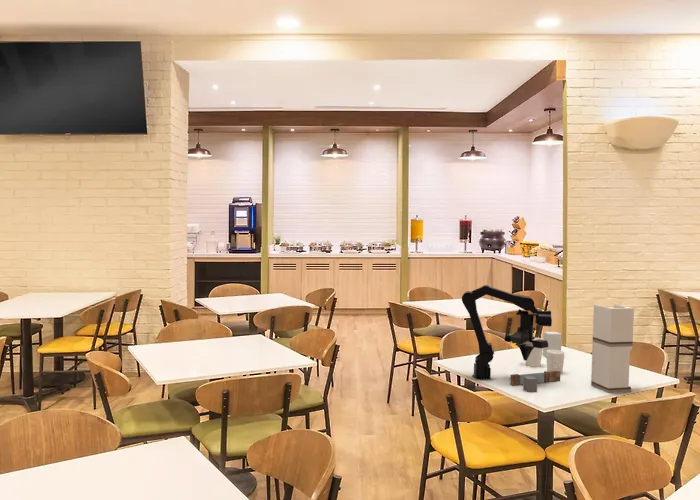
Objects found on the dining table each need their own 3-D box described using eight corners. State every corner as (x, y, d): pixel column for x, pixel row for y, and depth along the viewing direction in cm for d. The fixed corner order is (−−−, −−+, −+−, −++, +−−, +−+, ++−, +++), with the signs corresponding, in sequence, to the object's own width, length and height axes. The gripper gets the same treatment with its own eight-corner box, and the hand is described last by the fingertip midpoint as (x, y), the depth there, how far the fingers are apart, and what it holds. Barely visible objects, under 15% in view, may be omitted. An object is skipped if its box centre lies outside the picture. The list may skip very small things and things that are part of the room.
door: (542, 381, 251) (542, 372, 251) (545, 382, 249) (546, 373, 249) (518, 383, 247) (518, 374, 247) (521, 385, 245) (522, 376, 245)
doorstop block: (527, 392, 235) (527, 379, 235) (523, 389, 239) (523, 376, 239) (536, 392, 236) (537, 378, 236) (532, 389, 240) (532, 376, 240)
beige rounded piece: (565, 375, 263) (565, 353, 263) (547, 374, 265) (547, 352, 264) (562, 371, 271) (562, 350, 270) (544, 370, 272) (545, 349, 272)
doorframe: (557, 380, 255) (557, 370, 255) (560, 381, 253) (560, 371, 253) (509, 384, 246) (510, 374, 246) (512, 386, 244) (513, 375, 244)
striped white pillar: (630, 392, 238) (634, 308, 237) (608, 393, 236) (611, 308, 234) (612, 384, 249) (615, 304, 248) (591, 385, 247) (593, 304, 246)
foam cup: (522, 366, 279) (522, 340, 278) (523, 362, 287) (524, 336, 287) (542, 368, 275) (543, 341, 274) (543, 364, 284) (544, 338, 283)
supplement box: (561, 358, 298) (562, 334, 297) (546, 358, 298) (547, 333, 297) (556, 355, 305) (557, 331, 305) (542, 354, 305) (543, 331, 305)
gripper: (497, 323, 253) (496, 358, 254) (534, 330, 239) (533, 367, 239) (512, 321, 260) (511, 355, 261) (549, 327, 246) (548, 363, 246)
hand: (525, 360), depth 252 cm, fingers closed
